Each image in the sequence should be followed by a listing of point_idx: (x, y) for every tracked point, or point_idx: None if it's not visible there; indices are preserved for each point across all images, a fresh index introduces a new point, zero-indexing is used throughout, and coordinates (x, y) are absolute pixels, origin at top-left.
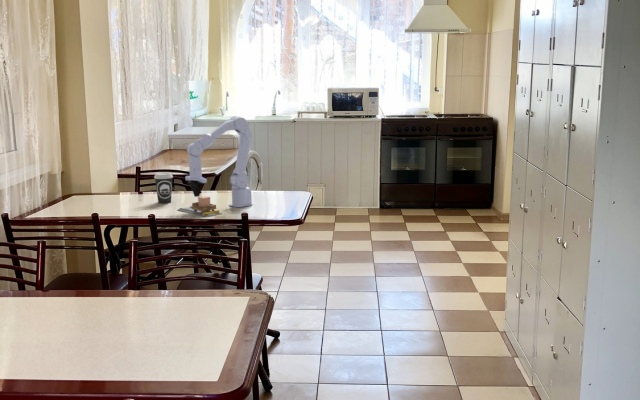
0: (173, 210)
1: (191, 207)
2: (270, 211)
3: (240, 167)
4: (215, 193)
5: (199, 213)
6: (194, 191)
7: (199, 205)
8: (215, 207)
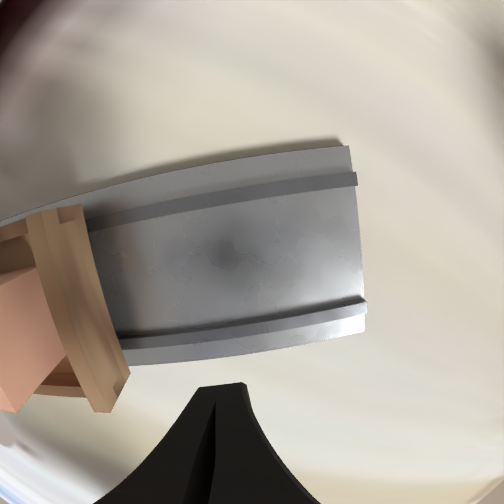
0: (364, 114)
1: (337, 304)
2: (29, 491)
3: None
4: (497, 473)
5: None
6: (188, 440)
7: (16, 273)
8: None
